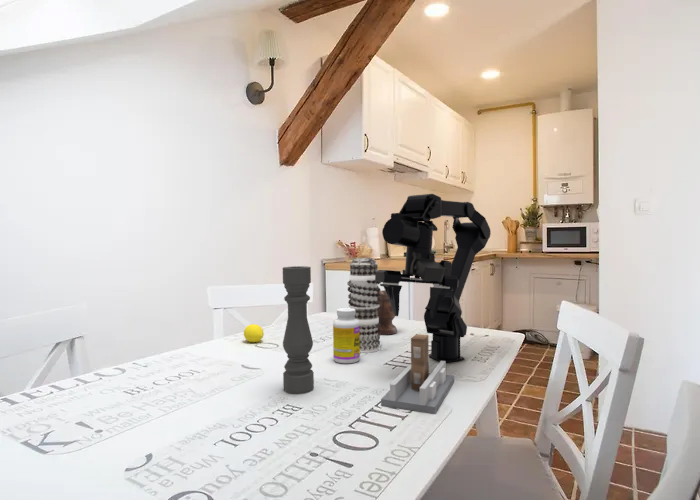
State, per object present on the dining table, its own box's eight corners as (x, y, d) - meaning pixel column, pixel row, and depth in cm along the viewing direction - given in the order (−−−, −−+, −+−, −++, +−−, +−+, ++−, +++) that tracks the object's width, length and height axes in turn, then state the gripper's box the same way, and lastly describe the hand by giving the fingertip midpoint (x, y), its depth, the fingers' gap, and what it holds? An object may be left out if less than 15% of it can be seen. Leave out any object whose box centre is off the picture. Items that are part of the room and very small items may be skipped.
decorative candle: (379, 344, 126) (378, 256, 125) (383, 352, 116) (382, 258, 116) (347, 344, 125) (346, 257, 125) (348, 353, 116) (347, 259, 115)
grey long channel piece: (408, 376, 97) (408, 357, 97) (454, 381, 93) (454, 362, 93) (381, 405, 81) (380, 382, 81) (435, 413, 77) (434, 390, 77)
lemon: (267, 343, 131) (269, 325, 130) (254, 347, 126) (256, 328, 126) (250, 337, 135) (252, 320, 134) (237, 340, 130) (238, 323, 130)
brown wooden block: (416, 382, 89) (416, 334, 89) (428, 384, 88) (428, 335, 88) (410, 390, 85) (409, 339, 84) (422, 392, 84) (422, 340, 83)
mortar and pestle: (383, 338, 132) (383, 272, 131) (360, 335, 137) (359, 271, 136) (403, 331, 141) (402, 269, 140) (380, 328, 146) (380, 268, 146)
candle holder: (318, 385, 92) (316, 266, 91) (306, 395, 86) (303, 268, 85) (291, 382, 94) (289, 266, 93) (278, 392, 88) (275, 268, 87)
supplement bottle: (357, 365, 106) (356, 312, 106) (330, 363, 107) (329, 311, 107) (362, 357, 113) (361, 307, 112) (336, 356, 114) (336, 307, 113)
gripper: (397, 243, 90) (392, 319, 89) (474, 251, 96) (470, 322, 95) (376, 245, 101) (371, 313, 100) (447, 252, 107) (443, 316, 106)
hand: (414, 316), depth 100 cm, fingers open, 9 cm apart
